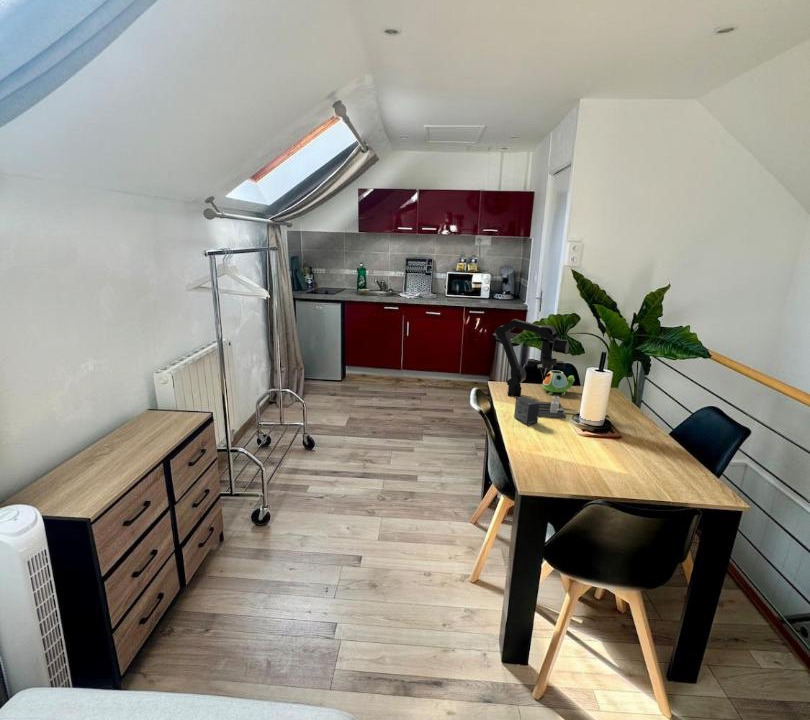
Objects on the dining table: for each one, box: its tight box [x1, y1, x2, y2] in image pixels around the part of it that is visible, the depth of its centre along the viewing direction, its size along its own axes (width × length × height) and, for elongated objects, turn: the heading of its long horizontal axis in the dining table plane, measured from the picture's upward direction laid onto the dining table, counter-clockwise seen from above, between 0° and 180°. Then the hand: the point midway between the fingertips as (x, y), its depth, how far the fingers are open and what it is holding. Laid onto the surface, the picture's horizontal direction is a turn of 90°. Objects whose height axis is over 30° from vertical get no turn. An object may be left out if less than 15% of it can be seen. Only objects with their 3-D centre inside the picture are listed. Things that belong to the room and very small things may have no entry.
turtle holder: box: [542, 369, 576, 396], centre depth 258 cm, size 12×18×12 cm
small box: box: [513, 396, 540, 426], centre depth 215 cm, size 11×6×10 cm, turn 22°
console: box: [535, 400, 567, 419], centre depth 230 cm, size 15×18×2 cm
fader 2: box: [550, 400, 558, 414], centre depth 223 cm, size 3×3×5 cm
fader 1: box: [551, 395, 561, 408], centre depth 231 cm, size 3×3×5 cm
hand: (543, 379), depth 241 cm, fingers closed
